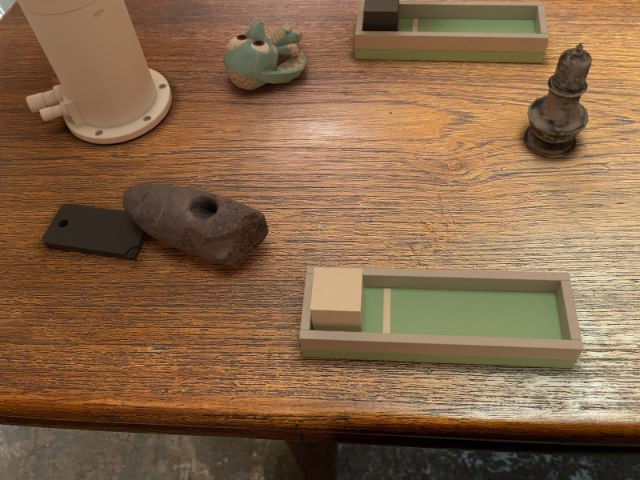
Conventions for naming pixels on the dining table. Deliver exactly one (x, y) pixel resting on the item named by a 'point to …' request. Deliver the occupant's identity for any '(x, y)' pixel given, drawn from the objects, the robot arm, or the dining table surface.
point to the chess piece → (560, 107)
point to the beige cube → (337, 299)
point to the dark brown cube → (381, 15)
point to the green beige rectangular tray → (459, 32)
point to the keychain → (95, 231)
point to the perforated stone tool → (196, 221)
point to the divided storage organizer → (455, 318)
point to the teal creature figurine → (263, 57)
